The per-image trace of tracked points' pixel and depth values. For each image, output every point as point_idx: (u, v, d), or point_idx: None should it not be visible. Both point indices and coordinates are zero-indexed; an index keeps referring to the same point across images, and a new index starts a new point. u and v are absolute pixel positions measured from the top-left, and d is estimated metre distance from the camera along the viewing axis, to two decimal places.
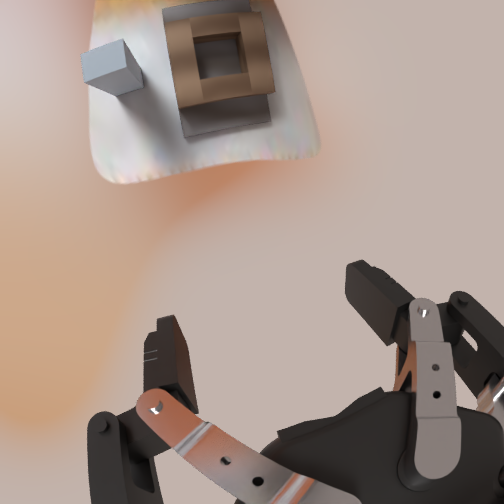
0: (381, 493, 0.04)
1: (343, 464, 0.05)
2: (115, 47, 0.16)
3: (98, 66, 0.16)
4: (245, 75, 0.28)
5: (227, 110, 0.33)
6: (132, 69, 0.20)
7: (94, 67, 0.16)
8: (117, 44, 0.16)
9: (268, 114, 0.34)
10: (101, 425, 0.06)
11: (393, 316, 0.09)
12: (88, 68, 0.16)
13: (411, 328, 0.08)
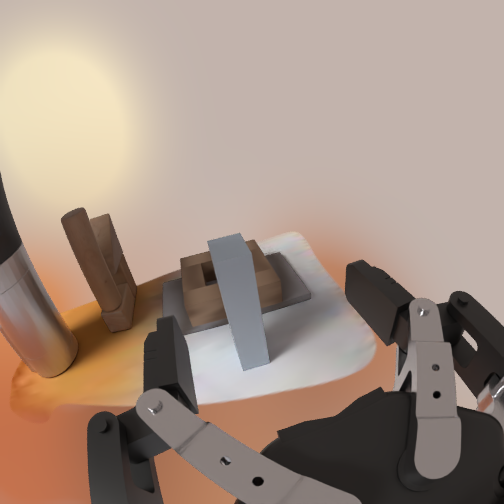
0: (381, 493, 0.04)
1: (343, 464, 0.05)
2: (215, 242, 0.24)
3: (234, 247, 0.22)
4: None
5: (277, 273, 0.41)
6: None
7: (235, 250, 0.22)
8: (212, 242, 0.24)
9: (274, 254, 0.46)
10: (101, 425, 0.06)
11: (393, 316, 0.09)
12: (234, 253, 0.22)
13: (411, 328, 0.08)
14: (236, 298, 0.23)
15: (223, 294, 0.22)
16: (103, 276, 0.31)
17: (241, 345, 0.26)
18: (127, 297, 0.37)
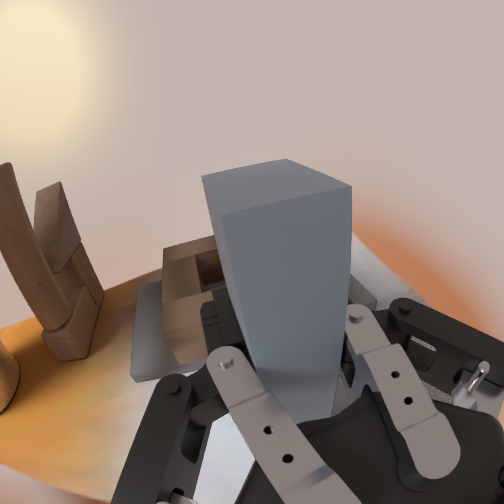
0: (381, 493, 0.04)
1: (343, 464, 0.05)
2: (224, 175, 0.08)
3: (285, 178, 0.07)
4: None
5: None
6: None
7: (289, 181, 0.07)
8: (216, 176, 0.08)
9: None
10: (172, 387, 0.07)
11: None
12: (293, 187, 0.06)
13: (350, 340, 0.08)
14: (288, 336, 0.07)
15: (250, 326, 0.07)
16: (35, 274, 0.16)
17: None
18: (82, 309, 0.22)
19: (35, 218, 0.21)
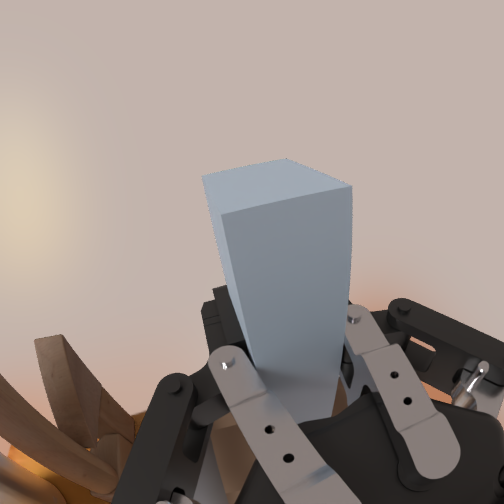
0: (381, 493, 0.04)
1: (343, 464, 0.05)
2: (224, 175, 0.08)
3: (286, 178, 0.07)
4: None
5: None
6: None
7: (289, 181, 0.07)
8: (216, 176, 0.08)
9: None
10: (174, 386, 0.07)
11: None
12: (293, 187, 0.06)
13: (349, 341, 0.08)
14: (288, 335, 0.07)
15: (251, 326, 0.07)
16: (77, 471, 0.11)
17: None
18: (124, 462, 0.17)
19: (43, 377, 0.16)
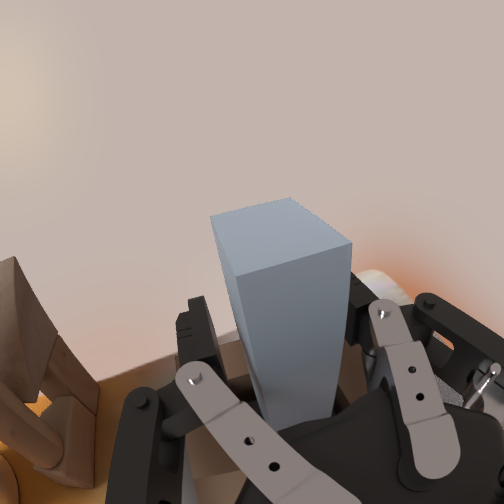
0: (381, 493, 0.04)
1: (343, 464, 0.05)
2: (232, 218, 0.09)
3: (291, 228, 0.08)
4: None
5: None
6: None
7: (295, 234, 0.07)
8: (224, 218, 0.09)
9: None
10: (140, 401, 0.07)
11: (353, 317, 0.10)
12: (299, 243, 0.07)
13: (376, 333, 0.08)
14: (291, 365, 0.08)
15: (259, 360, 0.08)
16: (2, 424, 0.07)
17: None
18: (75, 432, 0.13)
19: None
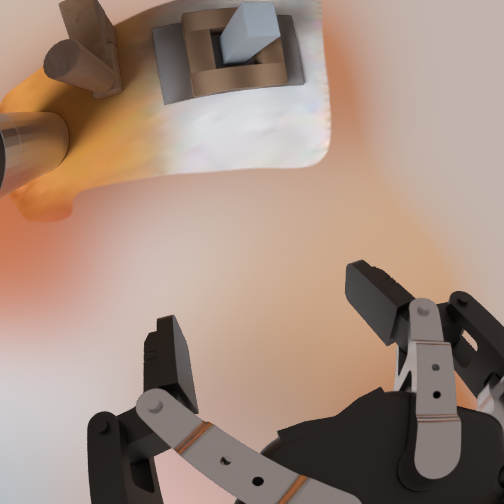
0: (381, 493, 0.04)
1: (343, 464, 0.05)
2: (250, 8, 0.17)
3: (267, 22, 0.18)
4: None
5: (282, 47, 0.31)
6: None
7: (267, 25, 0.18)
8: (247, 6, 0.17)
9: (285, 16, 0.28)
10: (101, 425, 0.06)
11: (393, 316, 0.09)
12: (267, 30, 0.18)
13: (411, 328, 0.08)
14: (249, 46, 0.22)
15: (242, 45, 0.21)
16: (103, 79, 0.21)
17: (232, 58, 0.27)
18: (115, 62, 0.25)
19: (67, 26, 0.14)
